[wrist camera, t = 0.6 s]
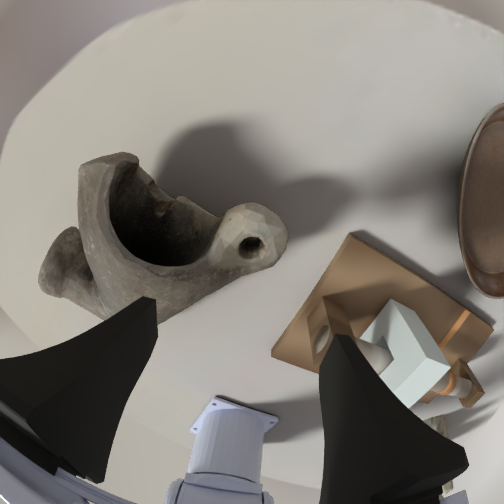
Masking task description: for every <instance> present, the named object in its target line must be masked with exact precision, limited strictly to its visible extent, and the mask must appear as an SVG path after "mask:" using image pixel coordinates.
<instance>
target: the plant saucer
mask: <svg viewBox="0 0 504 504" xmlns="http://www.w3.org/2000/svg"><path fill="white" fill-rule="evenodd" d="M457 224H458V235H459V243H460V248H461V253H462V257H463V261H464V265H465V268H466V271H467V273H468V276H469V278H470V280H471V282H472V283H473V285H474V286H475V287H476V289H477V290H478V291H479V292H480V293H482V294H483V295H485V296H487V297H489V298H493V299H502V298H504V103H503V104H500V105H498V106H497V107H495V108H494V109H493V110H492V111H491V112H489V113H488V115H487V116H486V117H485V118H484V119H483V121H482V122H481V123H480V125H479V126H478V128H477V130H476V132H475V134H474V135H473V137H472V140H471V142H470V144H469V147H468V149H467V152H466V155H465V158H464V162H463V165H462V170H461V175H460V181H459V187H458V200H457Z"/></svg>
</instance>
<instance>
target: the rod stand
mask: <svg viewBox="0 0 504 504" xmlns="http://www.w3.org/2000/svg"><path fill="white" fill-rule="evenodd" d="M390 298H391V299H393V300H395V301H397V302H399V303H400V304H402V305H404V306H406V307H408V308H410V309H412V310H413V311H415V312H416V314H417V315H418V317H419V318H420V320H421V321H422V323H423V324H424V325H425V327H426V328H427V330H428V331H429V333H430V334H431V336H432V337H433V339H434V341H435V342H436V344H437V345H438V347H439V348H440V350H441V352H442V353H443V355H444V356H445V358H446V360H447V361H448V363H449V364H450V366H451V368H450V369H449V370H448V371H447V372H446V373H445V374H444V375H443V376H442V378H441V379H440V380H439V381H438V382H437V383H436V384H435V385H434V386H433V387H432V388H431V389H430V390H428V391H427V392H426V393H425V394H424V395H423V396H422V397H421V398H420V399H419V400H418V402H423V403H429V402H430V401H431V400H432V399H433V398H434V397H435V396H436V395H437V394H441V395H450V396H454V397H458V398H459V400H460V402H461V404H462V406H464V407H470V408H471V407H472V406H473V405H474V404H475V403H476V402H477V401H478V400H479V399H480V398H481V397H482V396H483V395H484V394H485V392H484V390H483V389H482V387H481V385H480V384H479V382H478V380H477V379H476V377H475V376H474V374H473V372H472V371H471V369H470V368H469V366H468V365H467V363H468V362H469V361H470V360H471V358H472V357H473V356H474V355H475V354H476V352H477V351H478V350H479V349H480V348H481V346H482V345H483V344H484V343H485V341H486V340H487V339H488V337H489V336H490V335H491V333H492V332H493V331H494V329H493V328H492V327H491V325H489V324H488V323H487V322H485V321H484V320H483V319H481V318H480V317H479V316H477V315H476V314H475V313H473V312H472V311H470V310H469V309H468V308H466V307H465V306H463V305H462V304H461V303H459V302H458V301H456V300H455V299H453V298H452V297H450V296H449V295H448V294H446V293H445V292H443V291H442V290H440V289H439V288H437V287H436V286H434V285H433V284H431V283H430V282H428V281H427V280H425V279H424V278H422V277H420V276H419V275H417V274H416V273H414V272H413V271H411V270H410V269H408V268H406V267H405V266H403V265H402V264H400V263H398V262H397V261H395V260H394V259H392V258H390V257H389V256H387V255H385V254H384V253H382V252H380V251H379V250H377V249H375V248H374V247H372V246H370V245H369V244H367V243H365V242H363V241H362V240H360V239H358V238H357V237H355V236H353V235H351V234H350V233H349V234H348V235H347V237H346V239H345V240H344V242H343V244H342V245H341V247H340V249H339V250H338V252H337V253H336V255H335V257H334V258H333V260H332V261H331V263H330V265H329V266H328V268H327V269H326V271H325V272H324V274H323V276H322V277H321V279H320V280H319V282H318V283H317V285H316V286H315V288H314V289H313V291H312V292H311V294H310V295H309V297H308V298H307V300H306V301H305V303H304V304H303V306H302V307H301V309H300V310H299V311H298V313H297V314H296V316H295V317H294V319H293V320H292V322H291V323H290V324H289V326H288V327H287V329H286V330H285V331H284V333H283V334H282V336H281V337H280V338H279V340H278V341H277V343H276V344H275V345H274V347H273V348H272V351H271V357H273V358H276V359H278V360H281V361H284V362H287V363H289V364H292V365H295V366H298V367H300V368H303V369H306V370H309V371H312V372H315V373H318V374H319V366H320V364H321V362H322V360H323V358H324V356H325V354H326V352H327V350H328V348H329V346H330V344H331V342H332V340H333V337H334V335H335V334H343V335H349V336H350V337H351V338H352V340H353V341H354V342H355V344H356V345H357V347H358V348H359V349H360V351H361V352H362V354H363V355H364V356H365V358H366V359H367V360H368V362H369V363H370V365H371V366H372V367H373V369H374V370H375V371H376V373H377V374H378V375H380V374H381V373H382V372H383V371H384V370H385V369H386V368H387V367H388V366H389V365H390V364H391V363H392V361H393V360H394V358H393V356H392V353H391V351H390V350H387V349H385V348H382V347H380V346H377V345H375V344H372V343H370V342H367V341H365V340H362V339H360V337H361V336H362V335H363V333H364V332H365V331H366V330H367V328H368V327H369V326H370V325H371V323H372V322H373V321H374V320H375V318H376V317H377V316H378V314H379V313H380V312H381V311H382V309H383V308H384V307H385V305H386V304H387V303H388V301H389V300H390Z"/></svg>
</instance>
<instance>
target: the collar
mask: <svg viewBox="0 0 504 504" xmlns="http://www.w3.org/2000/svg"><path fill="white" fill-rule="evenodd" d="M360 339H362V340H365V341H367V342H370V343H372V344H375V345H377V346H380V347H382V348H385V349H387V350H390V351H391V353H392V356H393V358H394V360H393V361H392V363H391V364H390V365H389V366H388V367H387V368H386V369H385V370H384V371H383V372H382V373H381V374H380V375H379V376H380V378H381V379H382V380H383V381H384V383H385V384H386V385H387V386H388V387H389V389H390V390H391V391H392V392H393V393H394V394H395V395H396V397H397V398H398V399H399V400H400V401H401V402H402V403H403V404H404V405H405V406H406V407H407V408H408V409H409V408H410V407H411V406H412V405H413V404H414V403H416V402H417V401H418V400H419V399H420V398H421V397H422V396H423V395H424V394H425V393H426V392H427V391H428V390H430V389H431V388H432V387H433V386H434V385H435V384H436V383H437V382H438V381H439V380H440V379H441V378H442V376H443V375H444V374H445V373H446V372H447V371H448V370H449V369H450V368H451V366H450V364H449V363H448V361H447V360H446V358H445V356H444V355H443V353H442V352H441V350H440V348H439V347H438V345H437V344H436V342H435V341H434V339H433V337H432V336H431V334H430V333H429V331H428V330H427V328H426V327H425V325H424V324H423V323H422V321H421V320H420V318H419V317H418V315H417V314H416V312H415V311H413V310H412V309H410V308H408V307H406V306H404V305H402V304H400V303H399V302H397V301H395V300H393V299H391V298H390V300H389V301H388V303H387V304H386V305H385V307H384V308H383V309H382V311H381V312H380V313H379V314H378V316H377V317H376V318H375V320H374V321H373V322H372V323H371V325H370V326H369V327H368V328H367V330H366V331H365V332H364V333H363V335H362V336H361V337H360Z"/></svg>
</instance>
